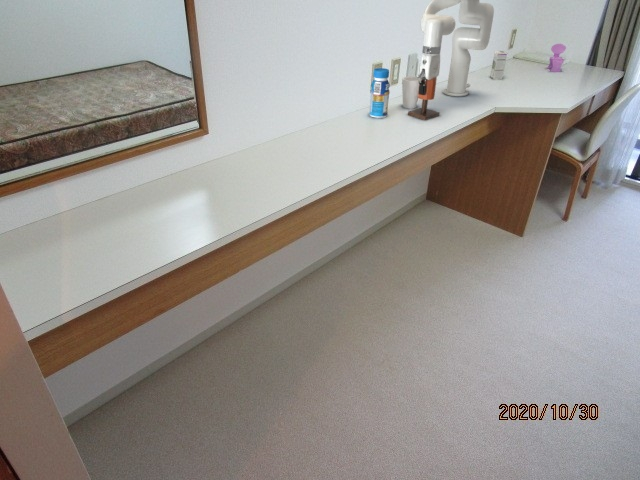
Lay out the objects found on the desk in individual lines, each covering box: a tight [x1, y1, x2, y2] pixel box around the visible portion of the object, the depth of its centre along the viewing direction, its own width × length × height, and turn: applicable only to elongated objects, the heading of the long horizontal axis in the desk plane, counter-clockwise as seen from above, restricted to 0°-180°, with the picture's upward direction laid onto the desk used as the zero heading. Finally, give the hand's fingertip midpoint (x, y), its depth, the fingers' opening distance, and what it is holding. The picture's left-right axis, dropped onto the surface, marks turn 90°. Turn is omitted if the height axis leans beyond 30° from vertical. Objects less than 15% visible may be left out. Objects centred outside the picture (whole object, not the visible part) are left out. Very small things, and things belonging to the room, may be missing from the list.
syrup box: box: [489, 50, 508, 80], centre depth 260 cm, size 6×6×14 cm
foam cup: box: [401, 75, 419, 109], centre depth 213 cm, size 10×9×13 cm
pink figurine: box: [546, 43, 567, 73], centre depth 276 cm, size 8×9×15 cm
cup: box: [418, 76, 438, 101], centre depth 199 cm, size 7×7×9 cm
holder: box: [407, 99, 440, 121], centre depth 201 cm, size 10×10×15 cm
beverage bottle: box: [369, 67, 391, 119], centre depth 200 cm, size 8×8×20 cm
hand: (426, 92), depth 200 cm, fingers closed on cup, 7 cm apart
